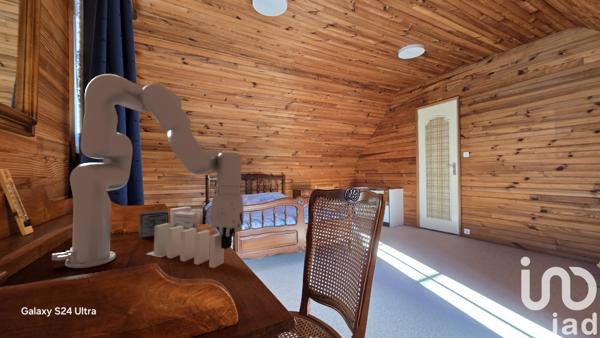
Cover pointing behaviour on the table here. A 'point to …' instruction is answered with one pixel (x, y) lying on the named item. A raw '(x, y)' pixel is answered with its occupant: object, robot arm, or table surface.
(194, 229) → the tile
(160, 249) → the tile
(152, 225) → the small box
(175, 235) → the tile
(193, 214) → the ink box
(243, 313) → the table surface
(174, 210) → the base with upright slab
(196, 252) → the tile
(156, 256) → the end pad
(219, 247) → the tile
